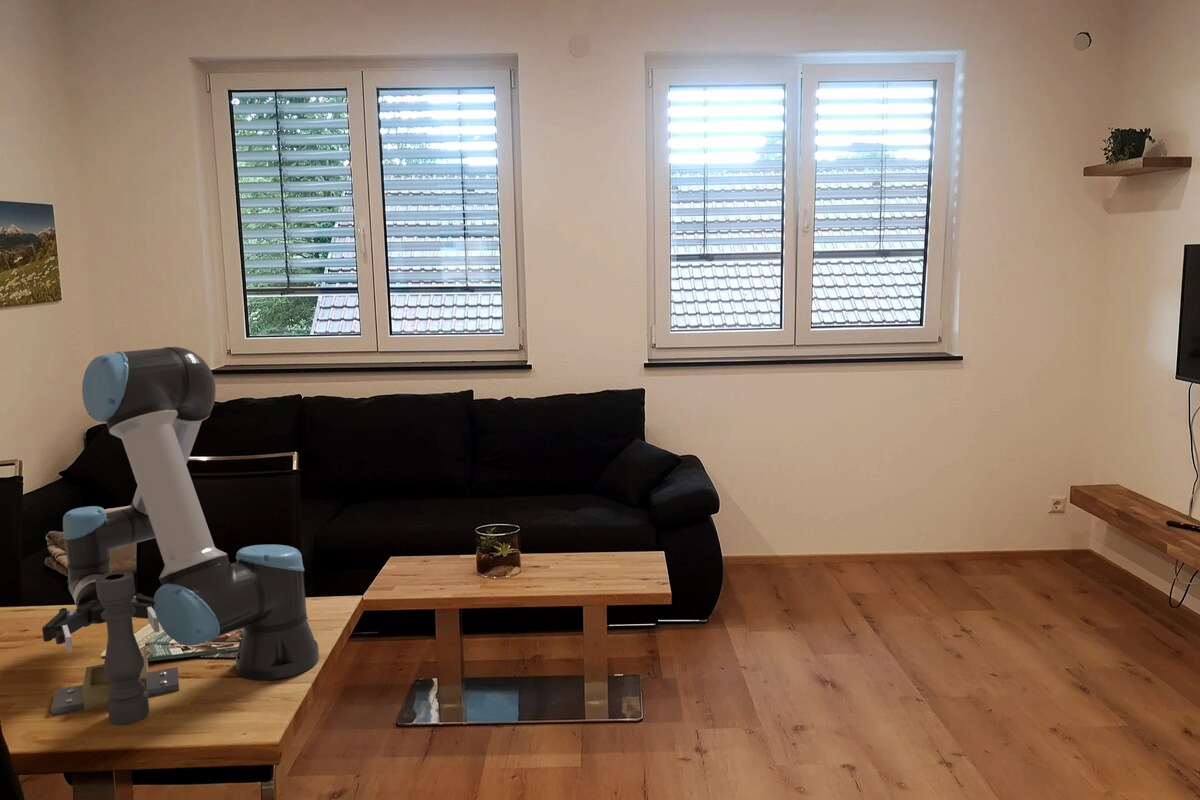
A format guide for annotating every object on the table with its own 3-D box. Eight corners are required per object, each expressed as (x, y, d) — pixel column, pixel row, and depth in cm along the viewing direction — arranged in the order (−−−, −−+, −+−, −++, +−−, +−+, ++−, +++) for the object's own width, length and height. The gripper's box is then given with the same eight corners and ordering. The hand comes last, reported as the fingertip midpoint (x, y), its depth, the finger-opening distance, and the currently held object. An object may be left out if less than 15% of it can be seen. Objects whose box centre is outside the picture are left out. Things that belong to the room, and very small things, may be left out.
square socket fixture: (178, 670, 176) (176, 650, 175) (179, 692, 167) (177, 671, 166) (57, 693, 168) (54, 673, 167) (51, 717, 159) (49, 696, 158)
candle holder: (138, 725, 156) (123, 583, 152) (101, 725, 156) (85, 583, 152) (156, 707, 162) (142, 570, 158) (121, 707, 162) (106, 570, 158)
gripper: (169, 602, 186) (192, 636, 169) (24, 633, 172) (33, 674, 155) (166, 567, 185) (188, 597, 167) (19, 595, 171) (27, 631, 153)
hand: (114, 634), depth 161 cm, fingers open, 13 cm apart
